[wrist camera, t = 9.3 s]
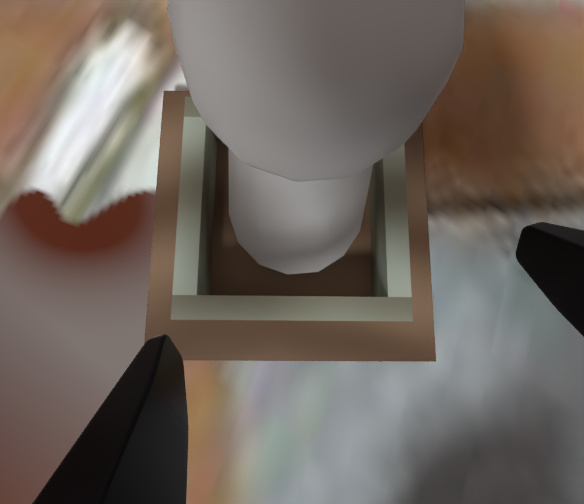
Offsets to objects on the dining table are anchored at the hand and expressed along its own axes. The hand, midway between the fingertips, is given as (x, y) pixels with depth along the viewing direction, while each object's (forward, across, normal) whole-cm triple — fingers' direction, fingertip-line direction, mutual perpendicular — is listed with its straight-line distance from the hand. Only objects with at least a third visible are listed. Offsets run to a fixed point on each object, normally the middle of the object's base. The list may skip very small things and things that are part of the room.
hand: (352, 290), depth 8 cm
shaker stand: (+10, 0, +4) cm, 10 cm away
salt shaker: (+9, 0, +3) cm, 9 cm away
